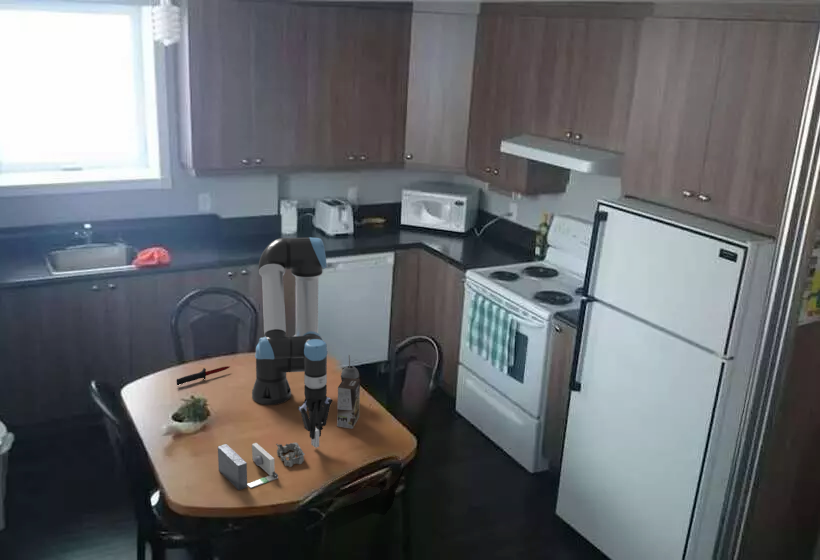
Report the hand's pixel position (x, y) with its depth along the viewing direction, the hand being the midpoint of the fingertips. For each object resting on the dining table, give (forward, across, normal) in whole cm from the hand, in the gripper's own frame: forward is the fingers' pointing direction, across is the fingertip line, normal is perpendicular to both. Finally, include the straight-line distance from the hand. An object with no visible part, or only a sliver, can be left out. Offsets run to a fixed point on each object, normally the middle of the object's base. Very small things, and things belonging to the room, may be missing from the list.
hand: (315, 445), depth 275 cm
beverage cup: (+2, +30, +21) cm, 36 cm away
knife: (+2, -7, +71) cm, 71 cm away
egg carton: (+2, -10, 0) cm, 10 cm away
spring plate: (+1, -21, -1) cm, 21 cm away
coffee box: (+2, +20, +9) cm, 22 cm away
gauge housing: (+2, -26, 0) cm, 26 cm away
